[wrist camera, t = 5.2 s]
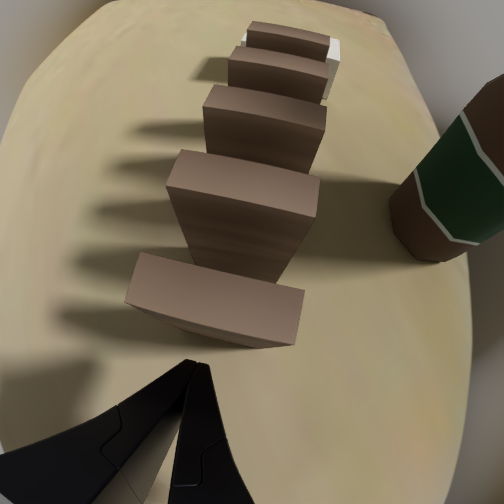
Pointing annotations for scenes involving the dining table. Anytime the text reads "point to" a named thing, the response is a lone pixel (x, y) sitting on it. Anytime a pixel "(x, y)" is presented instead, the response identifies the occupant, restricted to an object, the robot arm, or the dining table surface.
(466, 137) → the beer bottle
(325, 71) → the domino
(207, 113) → the domino
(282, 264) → the domino
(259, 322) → the domino
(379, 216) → the dining table surface
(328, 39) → the domino
